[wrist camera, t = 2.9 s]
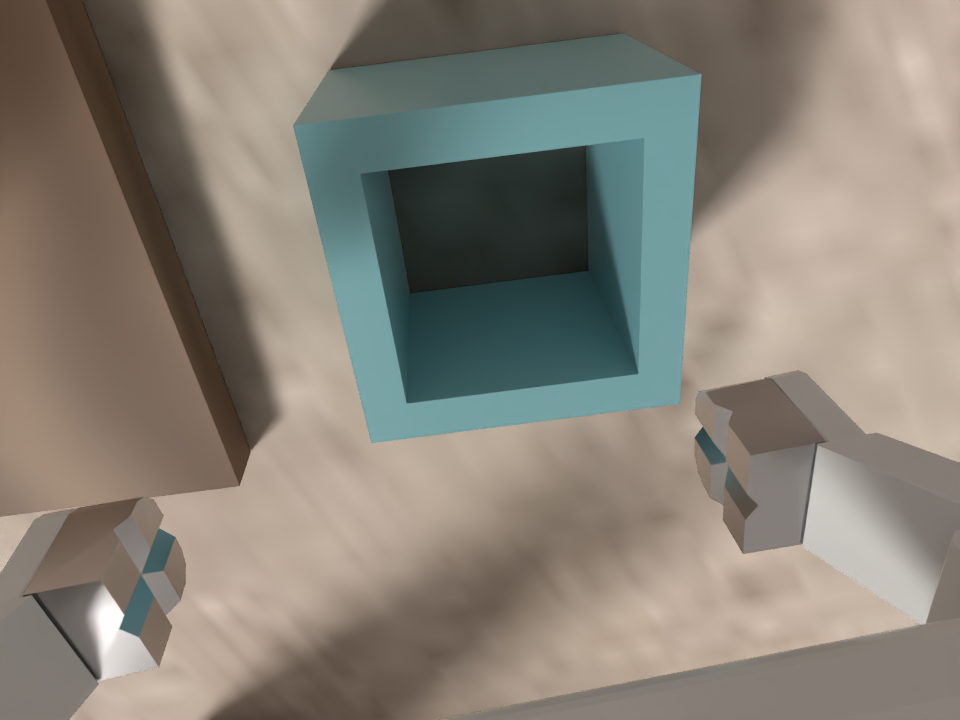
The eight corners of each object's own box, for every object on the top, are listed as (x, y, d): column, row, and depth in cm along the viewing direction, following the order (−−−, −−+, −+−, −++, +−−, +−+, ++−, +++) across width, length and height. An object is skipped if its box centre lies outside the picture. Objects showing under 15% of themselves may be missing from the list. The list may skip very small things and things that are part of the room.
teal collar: (624, 33, 15) (701, 74, 11) (621, 296, 19) (679, 403, 15) (328, 69, 15) (293, 125, 11) (382, 326, 19) (371, 442, 14)
